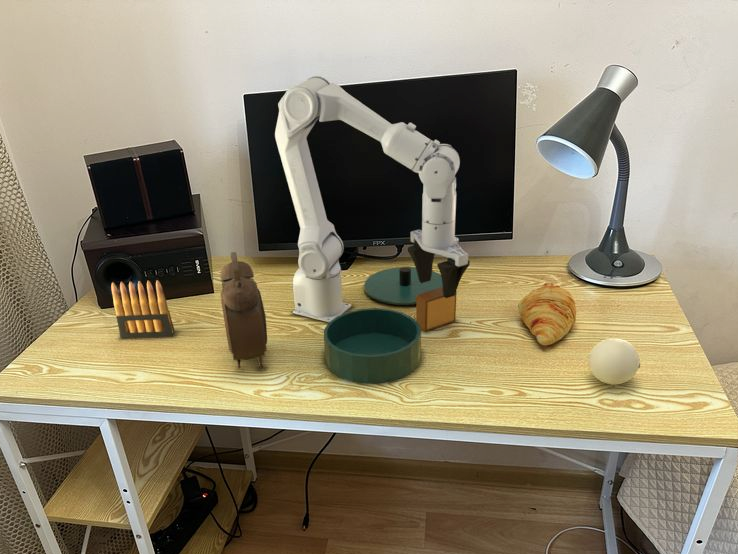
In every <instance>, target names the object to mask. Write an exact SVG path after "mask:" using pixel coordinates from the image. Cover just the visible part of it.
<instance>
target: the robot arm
mask: <svg viewBox="0 0 738 554" xmlns="http://www.w3.org/2000/svg"><path fill="white" fill-rule="evenodd" d="M277 106H278V116H277V121H276V124H275V125H276V126H275V131H274V138H275V142H276V145H277V146H276V147H277V149H278V153H279V156H280V160H281V163H282V168H283V171H284V175H285V179H286V182H287V185H288V189H289V192H290V196H291V200H292V203H293V207H294V211H295V214H296V218H297V222H298V225H299V228H300V229H299V235H298V240H297V247H298V251H299V253H298V254H299V255H298V260H297V263H298V267H299V268H298V269H297V270H296V271H295V273H294V276H293V278H292V279H293V280H292V290H293V301H294V309H293V310H292V313H293V314H294V315H298V316H302V317H306V318H310V319H314V320H318V321H322V322H325V323H329V322H330V321H332V320H333V319H334V318H336V317H337V316H339V315H342V314H344V313H346V312H348V310H349V309H350V308H351V307H352V304H351V303H348V302H343V301H344V300H343V286H342V267H341V264H340V258H341V257H342V255H343V253H344V247H345V246H344V242H343V240H342V239H341V237H340V236H339V235H338V233H337V231H336V229H335V225H334V224H333V223H332V222H330V221H329V219H328V218H327V214H326V210H325V206H324V202H323V198H322V193H321V190H320V187H319V182H318V179H317V175H316V171H315V167H314V162H313V159H312V156H311V152H310V147H309V144H308V143H309V142H308V140H307V138H308V135H309V133H310V132H311V130H312V129H313V128H314V126H315V124H316V122H318V121H319V123H321V122H322V123H325V122H331V121H342V122H344V123H346V124H347V125H349V126H351V127H353V128H354V129H356V130H358V131H360V132H362V133H364V134H366V135H367V136H369V137H371V138H373V139H375V140H376V141H378V142H379V143H380V144H381V147H382V151H383V153H384V154H385V155H386V156H388V157H390V158H391V159H393V160H394V161H396V162H398V163H399V164H401V165H402V166H404V167H406V168H407V169H409V170H410V171H412V172H413V173H416V174H418V177H419V179H420V181H421V183H422V184H423V188H422V199H421V200H422V204H421V205H422V206H421V207H422V208H421V209H422V210H421V229H416V230H412V231H410V242H411V243H413V244H412V245H409V246H408V247H407V252H408V254H409V255H410V257H411V259H412V262H413V264H414V267H416V270H417V274H418V278H419V282H420V283H424V282H427V281H430V280H431V275H432V271H433V265H434V264H433V263H434V259H435V255H439V256H442V257H444V258H446V260H445V261H442V262H438V263H437V265H436V266H437V269H438V270H439V274H440V275H441V277H442V287H443V295H444V297H445V298H449V297H452V296H455V293H456V291H458V287H459V285H460V281H461V279H462V277H463V276H464V274H465V272H466V270H467V269H468V268H469V266H470V265H471V264H470V263H471V262H470V260H469V253H467V252H466V251H464V249H462V247H461V246H460V245H459V244H458V243H459V241H460V239H459V238H458V237H457V236H456V216H457V215H456V213H457V212H456V211H457V190H456V189H457V176H456V174H457V173H458V171H459V169H460V164H461V159H460V156H459V152H457V150H456V149H455V148H453V146H452V145H451V144H448V143H441V142H440V141H439V140H438V139H434V140H432V139H430V138H428V137H427V136H425V135H424V134H422V133H421V132H420V131H418V130H416V129H417V125H415V124H414V123H412V122H408V124H406V123H405V122H403V121H400V122H397V123H391V122H389V121H388V120H387V119H385V118H384V117H382V116H381V115H380V114H378V113H377V112H375V111H374V110H372V109H371V108H369V107H368V106H366V105H365V104H363V103H362V102H361V101H360V100H358V99H357V98H355V97H353V96H352V95H351V94H350V93H348V92H346V90H344V89H343V88H342V87H341V86H340V85H338V84H337V83H334V82H330V81H329V80H328V79H327V78H325V77H323V76H321V75H320V76H319V75H314V76H310V77H309V78H307V79H306V80H304V81H302V82H300V83H298V84H295V85H293V86H291V87H289V88H288V89H287V90H286V91H285V93H284V95H282V97H281V98H280V100H279V102H278V103H277Z"/></svg>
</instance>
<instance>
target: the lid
mask: <svg viewBox="0 0 738 554" xmlns="http://www.w3.org/2000/svg"><path fill="white" fill-rule="evenodd" d="M363 287H364V291H365V293H366V295H368V297H370V298H372V299H373V300H375V301H378V302H380V303H385V304H389V305H397V306H409V305H411V306H412V305H416V296H417V295H418V294H421V293H425V292H428V291H431V290H434V289H437V288H441V287H442V277H441V273H438V272H436V271H434V270H432V275H431V280H430V281H427V282H424V283H420V282H419V278H418V274H417V270H416V267H415V266H399V267H392V268H391V267H390V268H386V269H383V270H379V271H377V272H375V273H373V274H371V275H369V276H368V278H367V279H366V280H365V281H364V285H363Z"/></svg>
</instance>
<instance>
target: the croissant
mask: <svg viewBox="0 0 738 554" xmlns="http://www.w3.org/2000/svg"><path fill="white" fill-rule="evenodd" d="M517 312H518V314H519V316H521V321H522V322H523V324H525V326H526V327H527V328H528V329H529V332H530V333H531V334H532V335H533V336H534V337H535V338H536V341H537V342H538V343H539V344H540V345H542V346H550V345H553V344H555V343H556V342H558V341H560V340H561V339H563V337H565V336H566V335H567V334H568V333H569V332H570V330H571V329H573V328H574V327H575V325H576V322H577V321H576V320H577V306H576V301H575V299H574V297H573V295H572V294H571V293H570V291H568V290H567V289H566V288H563V287H561V286H560V285H554V283H549V282H546V283H544V284H543V285H542V286H541V287H538V288H535V289H533V290H532V291H530V292H529V293H528V294H526V295H524V296H523V297H522V298H521V300H520V301H519V302H518V304H517Z"/></svg>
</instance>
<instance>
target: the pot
mask: <svg viewBox="0 0 738 554" xmlns="http://www.w3.org/2000/svg"><path fill="white" fill-rule="evenodd" d="M323 343H324V356H325V363H326V366H327V368H328V369H329V370H330V371H331V372H332V373H333V374H334V375H336V376H338V377H339V378H341V379H344V380H347V381H350V382H353V383H359V384H383V383H384V384H385V383H388V382H393V381H397V380H399V379H402V378H404V377H407V376H409V374H411V373H412V372H414V371H415V370H416V369H417V367H418V366H419V364H420V361H421V356H422V329H421V328H420V326H419V324H418V323H417V322H416V319H415V318H414V317H412V316H410V315H408V314H406V313H405V312H402V311H398V310H395V309H390V308H380V307H372V308H371V307H370V308H359V309H354V310H350V311H346V312H344V313H343V314H342V315H339V316H337V317H336V318H334V319H333V320H332V321H330V322H327V324H326V326H325V327H324V329H323Z"/></svg>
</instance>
